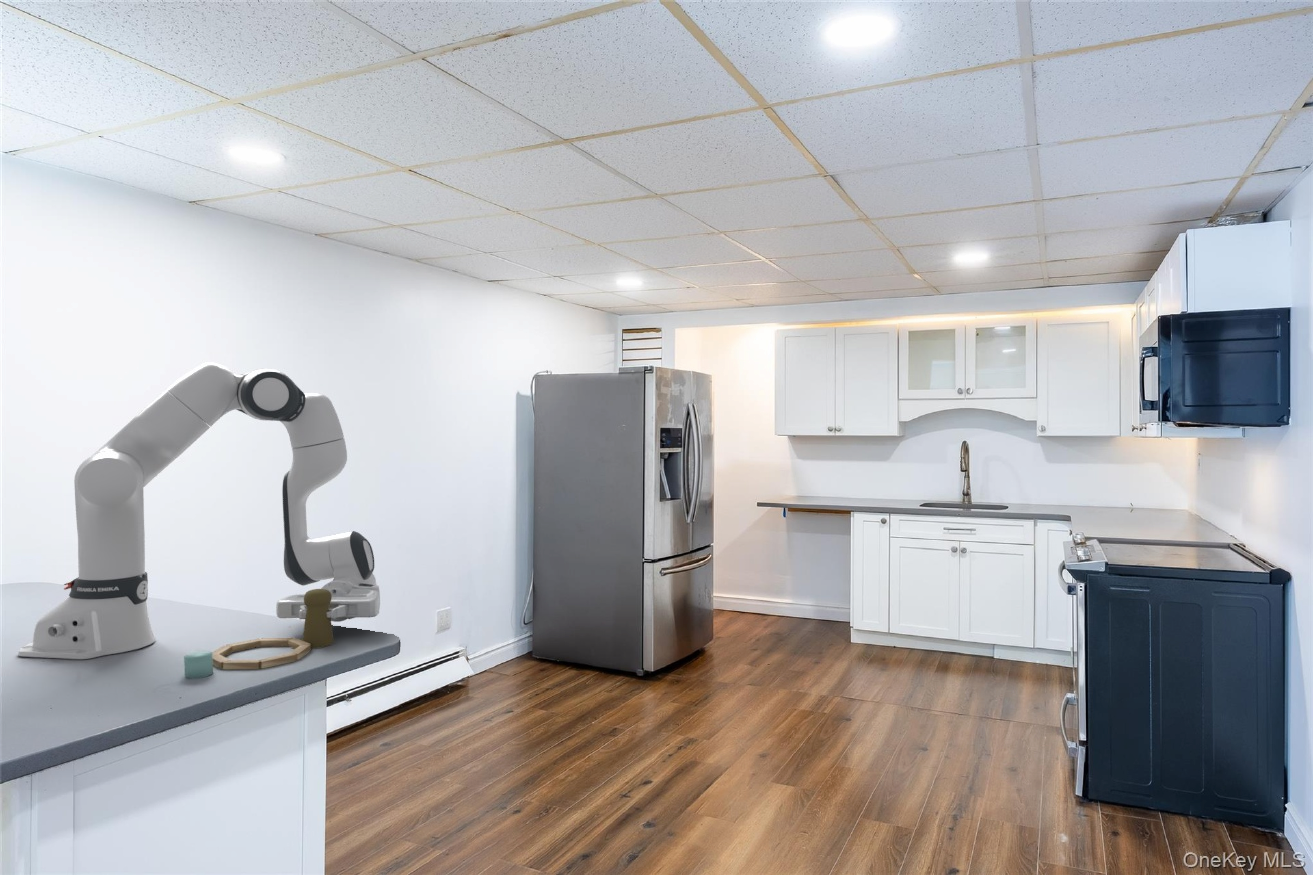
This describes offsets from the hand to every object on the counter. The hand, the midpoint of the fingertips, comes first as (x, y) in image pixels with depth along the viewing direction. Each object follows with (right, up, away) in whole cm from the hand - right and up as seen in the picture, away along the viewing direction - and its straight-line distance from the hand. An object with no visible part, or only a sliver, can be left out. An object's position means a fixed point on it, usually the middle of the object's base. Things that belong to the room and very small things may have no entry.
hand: (316, 615), depth 164 cm
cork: (0, -6, +1) cm, 6 cm away
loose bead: (-13, -6, -19) cm, 24 cm away
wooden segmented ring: (-8, -6, -7) cm, 12 cm away
